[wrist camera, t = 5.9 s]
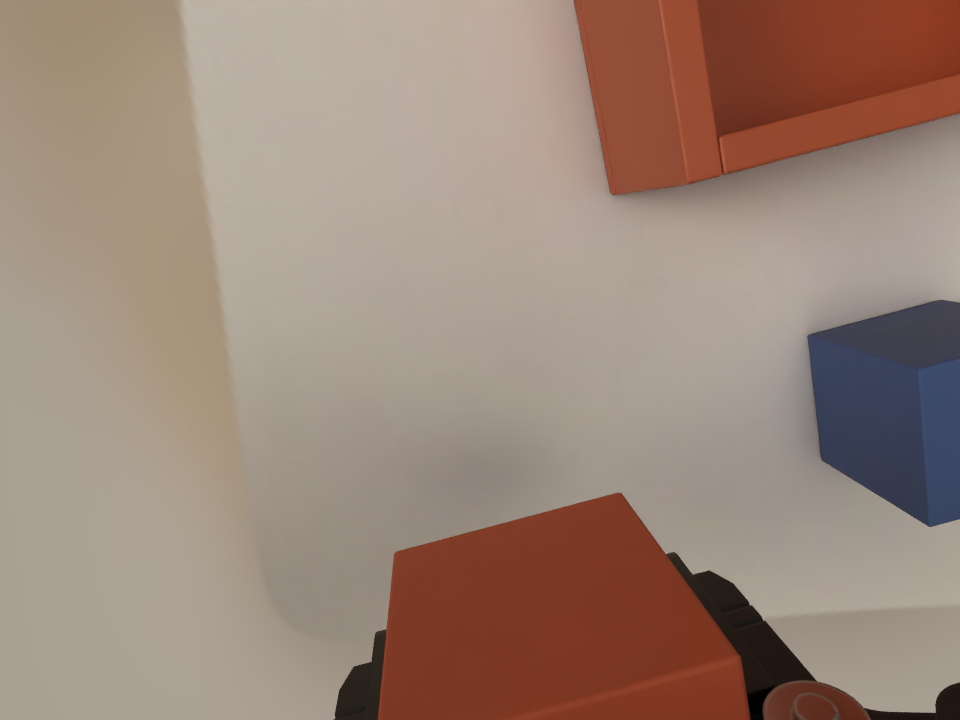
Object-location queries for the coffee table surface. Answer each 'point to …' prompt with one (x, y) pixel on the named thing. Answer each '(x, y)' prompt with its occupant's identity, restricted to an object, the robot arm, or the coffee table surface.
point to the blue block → (894, 406)
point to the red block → (554, 626)
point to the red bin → (759, 79)
